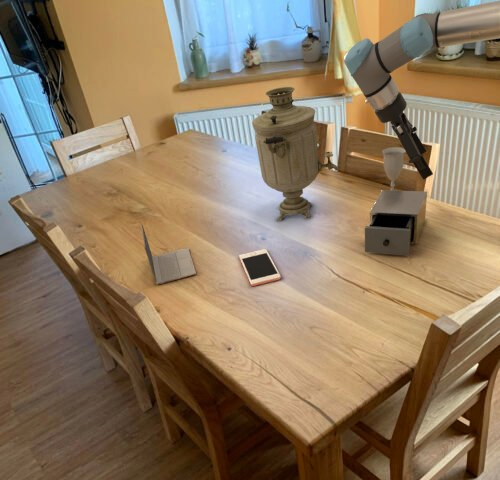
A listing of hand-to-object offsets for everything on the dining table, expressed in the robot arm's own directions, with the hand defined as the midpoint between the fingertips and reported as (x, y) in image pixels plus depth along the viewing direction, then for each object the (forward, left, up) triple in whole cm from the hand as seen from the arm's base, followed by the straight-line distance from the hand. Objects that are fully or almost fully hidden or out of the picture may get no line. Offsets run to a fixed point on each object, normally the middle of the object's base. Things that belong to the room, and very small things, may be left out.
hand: (424, 164), depth 137 cm
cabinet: (+6, +4, -21) cm, 22 cm away
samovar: (+36, +23, -21) cm, 48 cm away
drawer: (-1, +11, -20) cm, 23 cm away
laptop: (+27, +72, -21) cm, 80 cm away
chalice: (+23, -5, -21) cm, 32 cm away
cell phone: (+10, +49, -21) cm, 54 cm away
